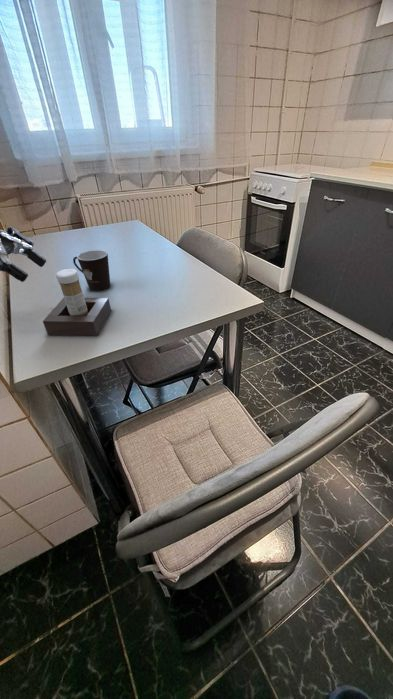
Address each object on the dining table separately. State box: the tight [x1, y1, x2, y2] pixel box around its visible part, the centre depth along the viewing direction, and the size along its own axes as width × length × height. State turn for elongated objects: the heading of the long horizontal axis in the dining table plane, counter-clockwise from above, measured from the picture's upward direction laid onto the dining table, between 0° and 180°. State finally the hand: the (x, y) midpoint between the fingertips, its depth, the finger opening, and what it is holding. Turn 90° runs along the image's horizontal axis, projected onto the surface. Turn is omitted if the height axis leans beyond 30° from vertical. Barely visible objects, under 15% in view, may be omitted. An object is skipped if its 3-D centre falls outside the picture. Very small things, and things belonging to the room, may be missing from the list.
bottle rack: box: [42, 297, 112, 337], centre depth 73 cm, size 12×12×4 cm
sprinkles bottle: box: [55, 268, 88, 316], centre depth 71 cm, size 5×5×14 cm
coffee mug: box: [72, 249, 111, 292], centre depth 89 cm, size 12×9×10 cm
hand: (35, 271), depth 67 cm, fingers open, 8 cm apart
